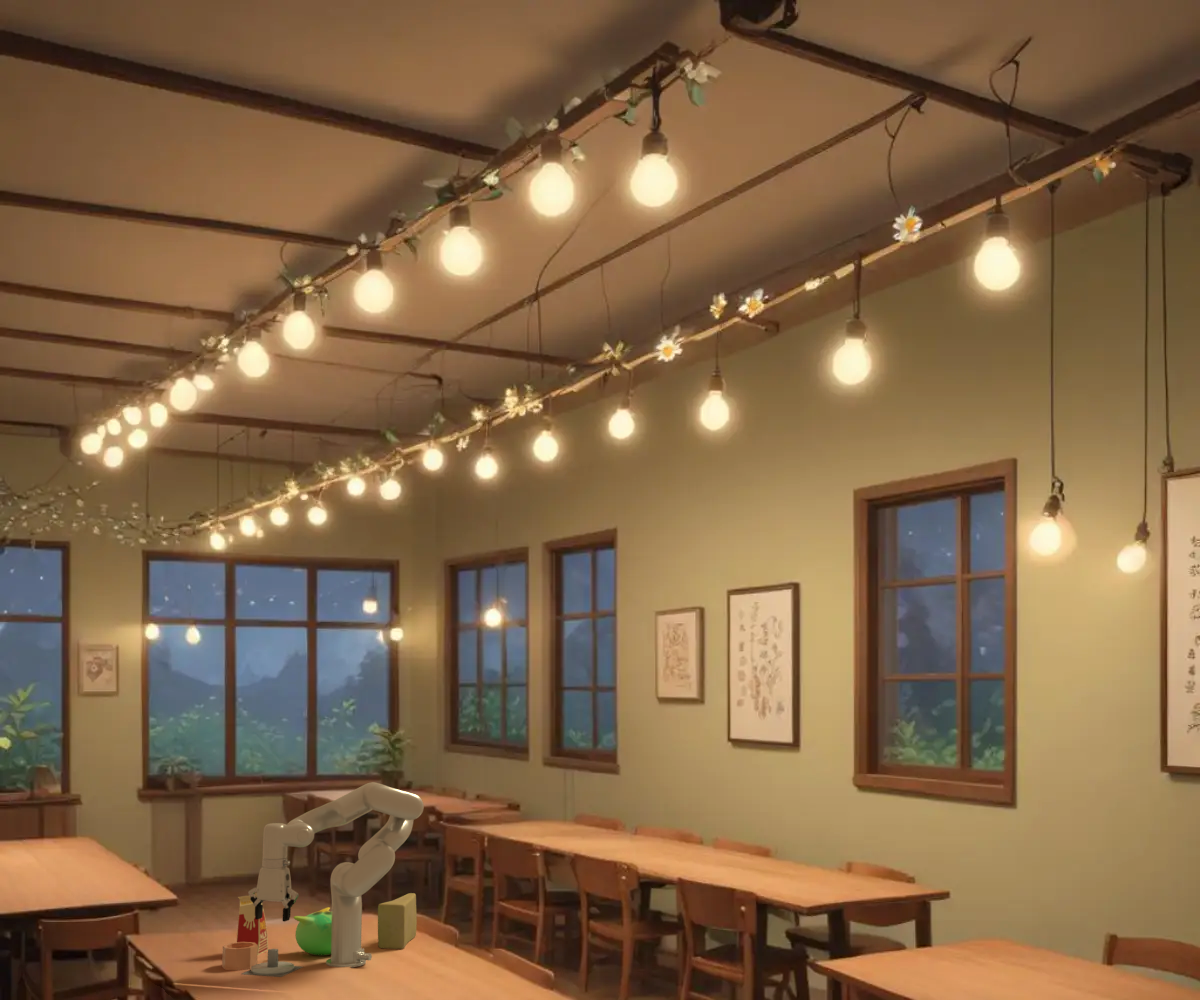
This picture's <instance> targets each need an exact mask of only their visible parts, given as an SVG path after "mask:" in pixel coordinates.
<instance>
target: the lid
mask: <svg viewBox="0 0 1200 1000" xmlns="http://www.w3.org/2000/svg"><path fill="white" fill-rule="evenodd" d="M294 966H295V964H294V963H293V962H289V961H279V948H268V952H267V961H266V962H260V963H257V964H256V965H254V966H252V967H251V969H250V970H251V972H252V973H253V974H257V975H256V976H258V975H278V974H284V973H288V972H291V971H293V970H294ZM293 972H294V971H293ZM291 973H292V972H291Z"/></svg>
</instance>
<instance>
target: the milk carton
mask: <svg viewBox="0 0 1200 1000" xmlns="http://www.w3.org/2000/svg"><path fill="white" fill-rule="evenodd" d="M255 896H256V897H257V892H255ZM237 898H238V899H239V909H238V919H237V920H238V922H237V933H236V942H255V943H256V944H257V945H258V952H257V956H259V955H261V954H264V952H265V951H267V950H269V939H268V930H267V929H268V928H267V920H266V915H265V911H264V909H263V915H262V918H260V919H255V906H254V905H253V902H252V901H251V899H250V896H249V895H242V896H237ZM261 905H263V903H262V904H261Z"/></svg>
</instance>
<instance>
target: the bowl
mask: <svg viewBox="0 0 1200 1000" xmlns="http://www.w3.org/2000/svg"><path fill="white" fill-rule="evenodd" d="M257 952H258V945H257V944H256V943H255V942H237V941H236V942H229V943H227V944H223V945H222V959H221V960H222V961H221V967H222V968H223V970H225V971H227V970H228V971H243V970H251V967H252V966H254V965H256V964H258V955H257Z"/></svg>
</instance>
